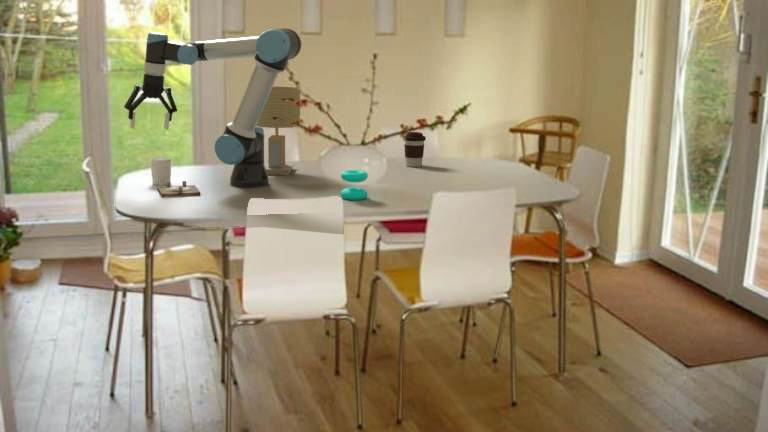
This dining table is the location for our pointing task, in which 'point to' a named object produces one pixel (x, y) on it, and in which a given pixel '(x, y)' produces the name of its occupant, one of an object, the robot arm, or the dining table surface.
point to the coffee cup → (414, 149)
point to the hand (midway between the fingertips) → (149, 128)
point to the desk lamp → (279, 126)
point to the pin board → (178, 190)
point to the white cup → (161, 170)
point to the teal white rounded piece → (354, 192)
